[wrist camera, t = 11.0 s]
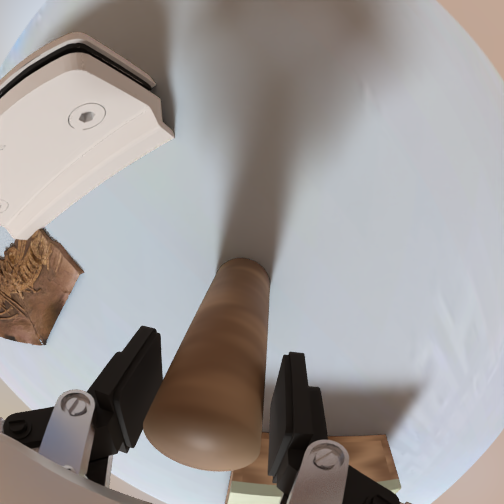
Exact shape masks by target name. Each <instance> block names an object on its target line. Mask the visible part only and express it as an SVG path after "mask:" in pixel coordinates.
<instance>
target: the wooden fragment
mask: <svg viewBox="0 0 504 504" xmlns="http://www.w3.org/2000/svg"><path fill="white" fill-rule="evenodd" d="M4 255H5V259H1V260H0V337H3V338H5V339H9V340H13V341H17V342H23V343H31V344H32V345H46V343H47V342H46V340H47V339H48V336H49V334H50V332H51V330H52V328H53V325H54V324H55V321H56V320H57V318H58V315H59V314H60V312H61V310H62V308H63V306H64V304H65V302H66V300H67V299H68V295H70V293H71V291H72V289H73V287H74V285H75V282H76V281H77V279H78V277H79V275H80V274H82V273H84V271H83V270H81V269H80V268H79V266H78V265H77V264H76V263H75V262H74V261H73V259H72V258H71V257H70V256H69V255H68V253H67V252H66V250H65V249H64V247H63V246H62V245H61V244H60V243H58V242H56V241H53V240H52V239H51V238H50V237H49V236H48V235H47V234H46V233H45V231H44V230H43V229H38V230H37V231H36V232H35V233H34V234H33V235H32V236H31V237H30V238H29V239H28V240H20V239H16V240H15V245H14V246H12V247H10V248H9V249H8V250H5V251H4ZM39 339H41V340H42V342H40V340H39ZM41 343H43V344H41Z"/></svg>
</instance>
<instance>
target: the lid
mask: <svg viewBox="0 0 504 504" xmlns="http://www.w3.org/2000/svg"><path fill="white" fill-rule="evenodd" d="M377 483H379V484H380V485H382V486H384V487H385V488H387V489H389V490H391V491H392V492H393V493H395V494H396V493H397V492H398V491H399V490H400V489H401V484H400V481H399V479H394V480H387V481H380V482H377ZM282 493H283V492H282V491H281V490H279V489H278V488H277V485H267V484H255V483H246V482H238V481H232V483H231V488H230V492H229V497H228V501H227V504H279V502H280V499H281V496H282Z"/></svg>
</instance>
